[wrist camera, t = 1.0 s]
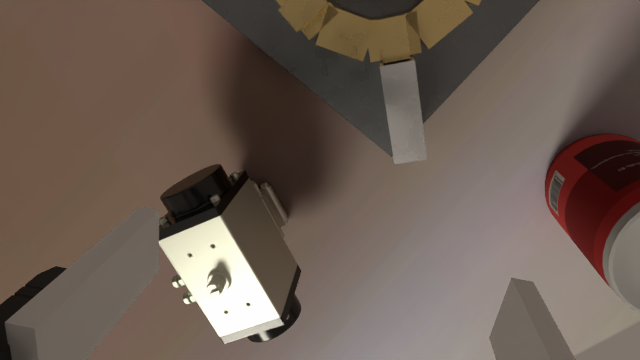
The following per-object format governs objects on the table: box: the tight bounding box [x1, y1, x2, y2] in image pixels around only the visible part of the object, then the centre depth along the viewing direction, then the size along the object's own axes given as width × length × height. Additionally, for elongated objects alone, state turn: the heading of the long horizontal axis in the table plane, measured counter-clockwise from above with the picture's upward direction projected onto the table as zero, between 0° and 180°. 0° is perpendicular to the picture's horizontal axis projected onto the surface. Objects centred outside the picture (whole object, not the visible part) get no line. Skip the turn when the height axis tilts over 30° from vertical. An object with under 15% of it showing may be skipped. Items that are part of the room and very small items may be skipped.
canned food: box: [545, 134, 640, 312], centre depth 29 cm, size 8×8×11 cm
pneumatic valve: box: [159, 164, 301, 344], centre depth 33 cm, size 6×12×12 cm, turn 26°
